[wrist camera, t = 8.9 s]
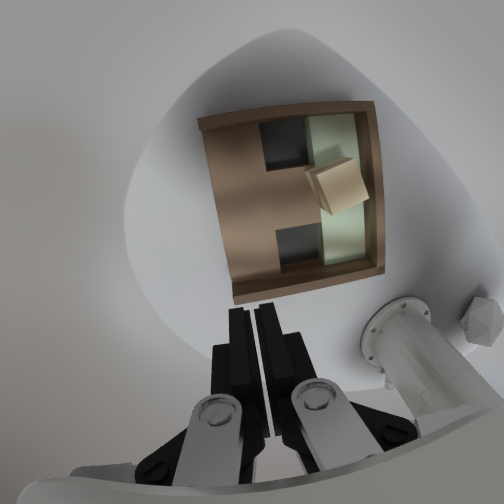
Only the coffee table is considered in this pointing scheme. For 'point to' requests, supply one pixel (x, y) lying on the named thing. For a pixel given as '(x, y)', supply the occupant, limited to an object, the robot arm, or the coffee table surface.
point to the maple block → (337, 184)
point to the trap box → (294, 197)
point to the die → (482, 321)
